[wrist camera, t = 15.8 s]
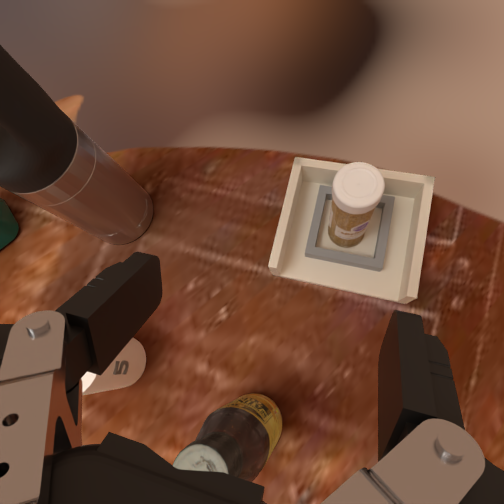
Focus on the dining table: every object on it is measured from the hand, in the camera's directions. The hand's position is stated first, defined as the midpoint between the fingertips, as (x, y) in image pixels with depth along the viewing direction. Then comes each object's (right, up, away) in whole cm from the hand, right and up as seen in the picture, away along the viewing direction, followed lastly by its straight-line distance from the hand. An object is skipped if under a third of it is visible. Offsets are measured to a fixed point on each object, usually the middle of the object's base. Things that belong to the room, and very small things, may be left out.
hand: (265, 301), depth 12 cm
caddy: (+12, +4, +33) cm, 35 cm away
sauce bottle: (0, -18, +30) cm, 35 cm away
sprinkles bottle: (+11, +4, +33) cm, 35 cm away
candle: (-17, -12, +34) cm, 40 cm away
